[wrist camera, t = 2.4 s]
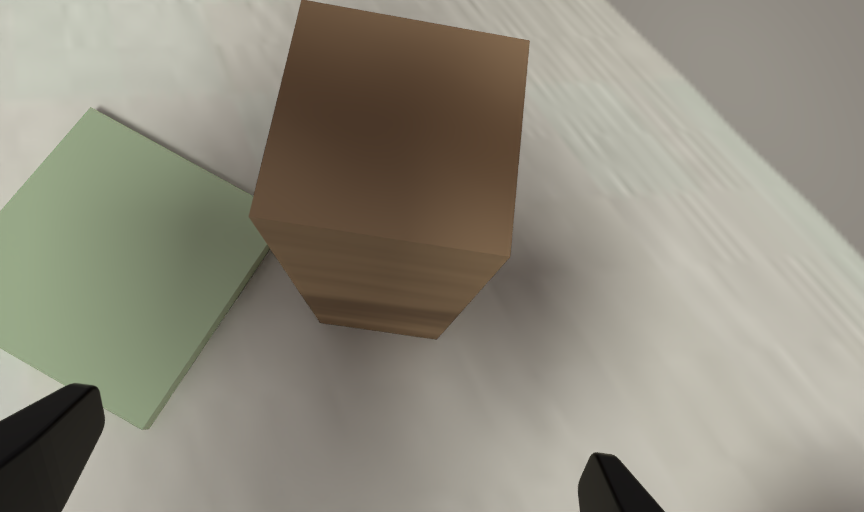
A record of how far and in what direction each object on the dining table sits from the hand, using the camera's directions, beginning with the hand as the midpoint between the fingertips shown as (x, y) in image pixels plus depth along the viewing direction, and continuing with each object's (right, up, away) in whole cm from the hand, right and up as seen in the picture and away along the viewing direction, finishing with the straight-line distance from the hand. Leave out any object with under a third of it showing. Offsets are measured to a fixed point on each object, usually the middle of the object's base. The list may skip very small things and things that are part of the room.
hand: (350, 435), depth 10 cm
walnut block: (0, +2, +14) cm, 14 cm away
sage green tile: (-12, +3, +13) cm, 18 cm away
